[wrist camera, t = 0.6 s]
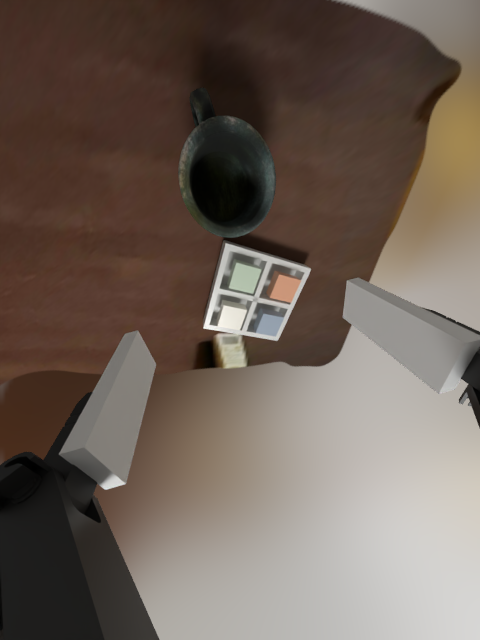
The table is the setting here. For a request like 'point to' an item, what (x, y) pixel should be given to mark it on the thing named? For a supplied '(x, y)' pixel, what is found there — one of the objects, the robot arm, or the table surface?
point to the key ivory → (231, 315)
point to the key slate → (268, 322)
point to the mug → (225, 171)
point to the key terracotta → (283, 286)
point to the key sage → (243, 276)
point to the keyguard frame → (259, 296)
